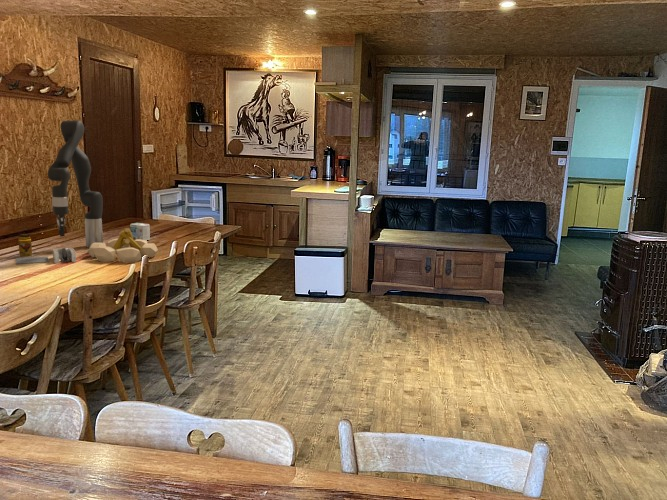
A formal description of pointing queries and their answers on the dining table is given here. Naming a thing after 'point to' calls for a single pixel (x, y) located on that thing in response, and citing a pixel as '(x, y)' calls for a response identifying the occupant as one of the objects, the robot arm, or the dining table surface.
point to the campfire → (122, 248)
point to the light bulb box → (140, 231)
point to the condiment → (25, 246)
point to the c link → (58, 254)
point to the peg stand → (64, 255)
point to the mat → (32, 260)
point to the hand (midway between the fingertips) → (61, 235)
